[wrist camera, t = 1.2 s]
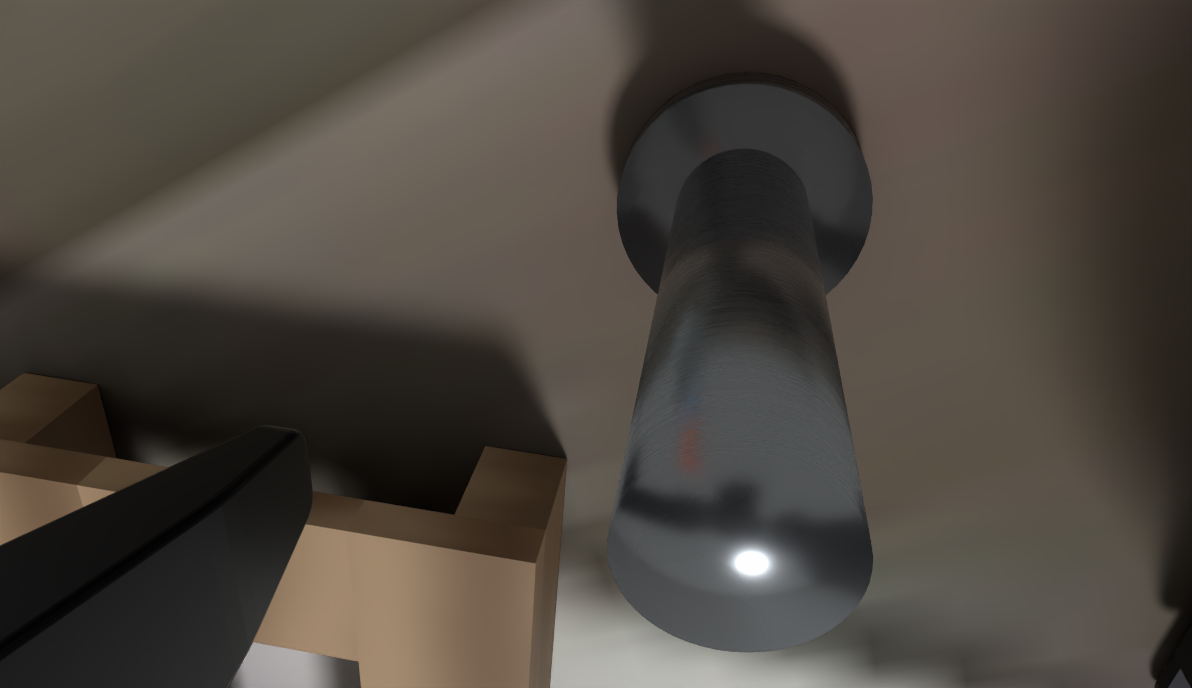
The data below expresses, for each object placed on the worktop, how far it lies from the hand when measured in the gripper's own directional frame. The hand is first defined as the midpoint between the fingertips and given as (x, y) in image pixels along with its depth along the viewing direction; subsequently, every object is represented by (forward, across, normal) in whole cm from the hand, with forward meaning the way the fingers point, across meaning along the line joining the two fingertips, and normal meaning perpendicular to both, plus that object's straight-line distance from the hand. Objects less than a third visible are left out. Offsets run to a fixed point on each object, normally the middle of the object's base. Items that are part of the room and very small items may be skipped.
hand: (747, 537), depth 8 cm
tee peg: (+10, 0, 0) cm, 10 cm away
